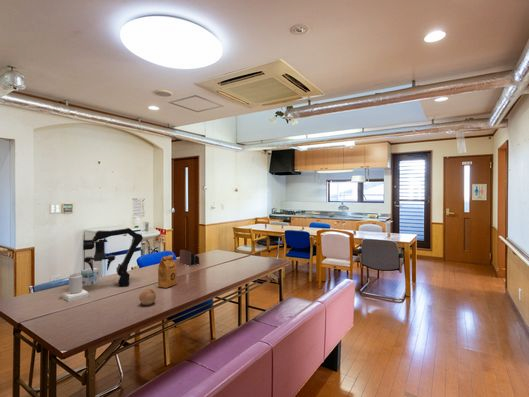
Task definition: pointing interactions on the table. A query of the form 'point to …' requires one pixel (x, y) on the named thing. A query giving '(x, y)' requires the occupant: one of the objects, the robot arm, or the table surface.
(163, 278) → the coffee package
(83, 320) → the table surface
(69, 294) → the stand
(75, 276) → the can
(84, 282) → the light bulb box
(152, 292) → the onion
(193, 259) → the letter holder
